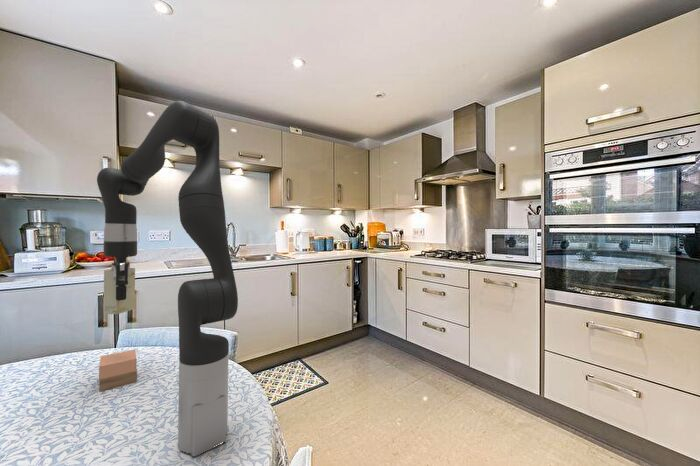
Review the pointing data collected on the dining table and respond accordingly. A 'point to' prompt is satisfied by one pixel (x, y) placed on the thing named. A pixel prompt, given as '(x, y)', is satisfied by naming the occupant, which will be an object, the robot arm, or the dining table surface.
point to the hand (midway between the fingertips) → (120, 297)
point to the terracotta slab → (117, 364)
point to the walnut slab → (117, 381)
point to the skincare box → (110, 293)
